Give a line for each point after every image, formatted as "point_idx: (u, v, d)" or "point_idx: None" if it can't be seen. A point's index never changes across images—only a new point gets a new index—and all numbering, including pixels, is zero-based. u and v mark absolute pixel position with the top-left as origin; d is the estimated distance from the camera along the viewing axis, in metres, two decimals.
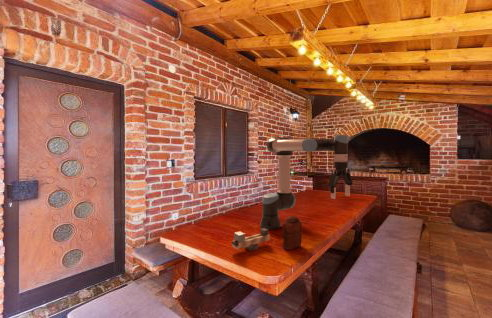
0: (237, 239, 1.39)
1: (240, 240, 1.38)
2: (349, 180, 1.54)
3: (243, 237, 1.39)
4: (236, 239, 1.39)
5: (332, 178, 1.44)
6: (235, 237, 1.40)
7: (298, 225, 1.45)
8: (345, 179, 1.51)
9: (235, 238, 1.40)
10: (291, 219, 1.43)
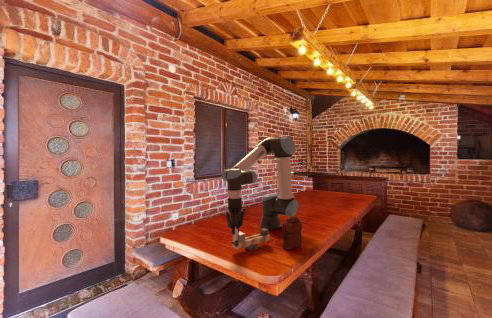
0: None
1: (240, 240, 1.38)
2: None
3: (243, 237, 1.39)
4: None
5: (228, 220, 1.35)
6: None
7: (298, 225, 1.45)
8: (236, 219, 1.39)
9: None
10: (291, 219, 1.43)
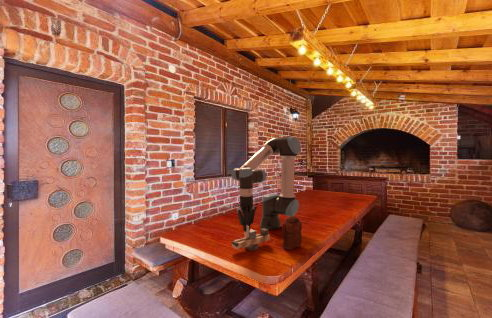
0: None
1: (251, 237, 1.42)
2: None
3: (254, 234, 1.43)
4: None
5: (240, 217, 1.40)
6: None
7: (298, 225, 1.45)
8: (247, 216, 1.43)
9: None
10: (291, 219, 1.43)
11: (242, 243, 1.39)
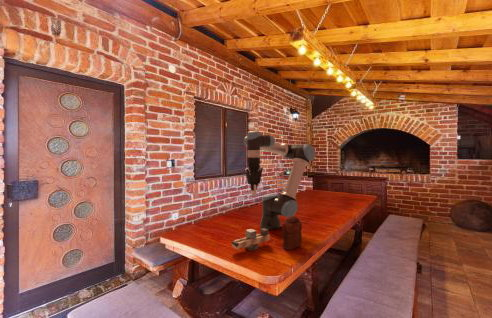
0: (249, 236, 1.43)
1: (252, 237, 1.42)
2: None
3: (254, 234, 1.43)
4: (248, 236, 1.44)
5: (248, 177, 1.51)
6: (246, 234, 1.44)
7: (298, 225, 1.45)
8: (255, 176, 1.54)
9: (247, 235, 1.44)
10: (291, 219, 1.43)
11: (242, 243, 1.39)
